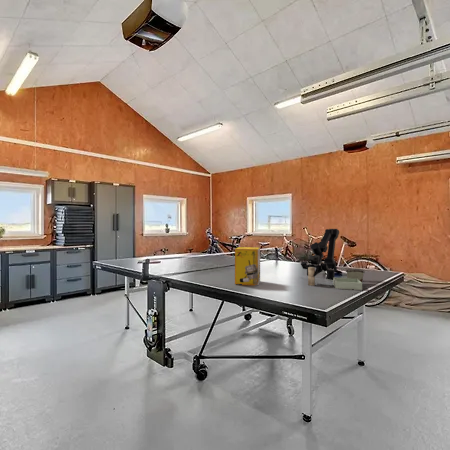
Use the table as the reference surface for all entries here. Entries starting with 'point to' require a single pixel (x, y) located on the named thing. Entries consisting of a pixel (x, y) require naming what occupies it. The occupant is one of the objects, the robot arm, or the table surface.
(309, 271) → the maple peg
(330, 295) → the table surface
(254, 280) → the packaging box
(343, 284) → the open box
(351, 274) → the food container
